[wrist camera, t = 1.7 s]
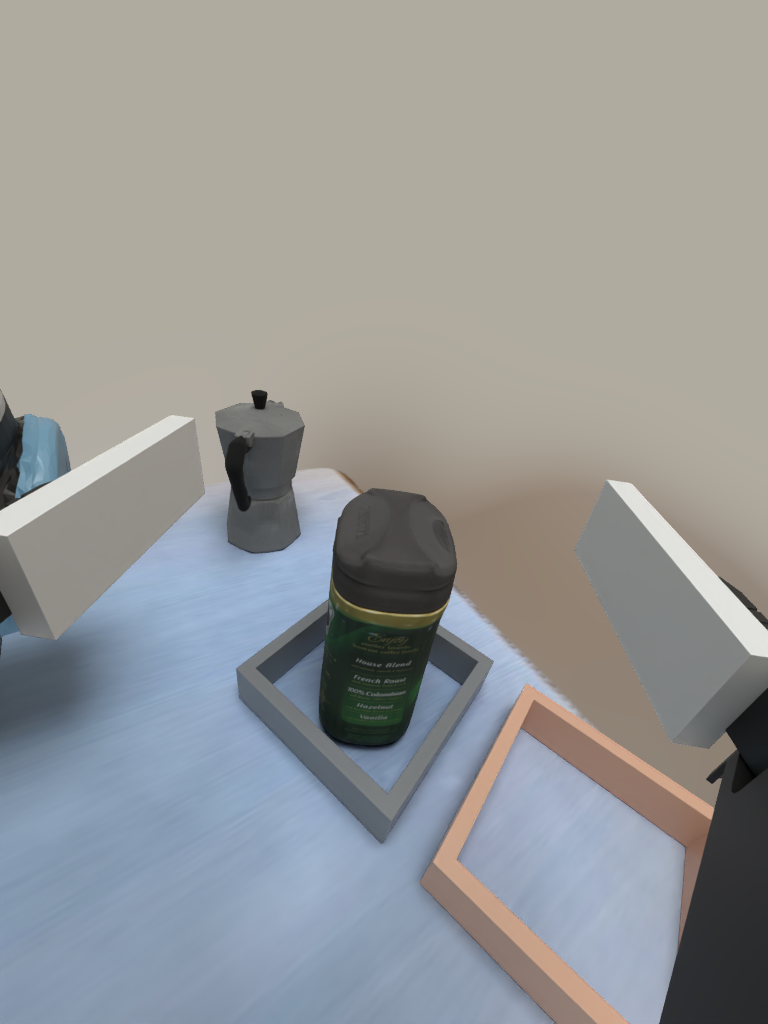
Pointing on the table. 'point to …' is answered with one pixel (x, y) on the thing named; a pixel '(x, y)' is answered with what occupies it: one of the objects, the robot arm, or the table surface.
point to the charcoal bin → (321, 751)
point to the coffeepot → (261, 472)
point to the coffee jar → (382, 613)
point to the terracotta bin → (500, 931)
